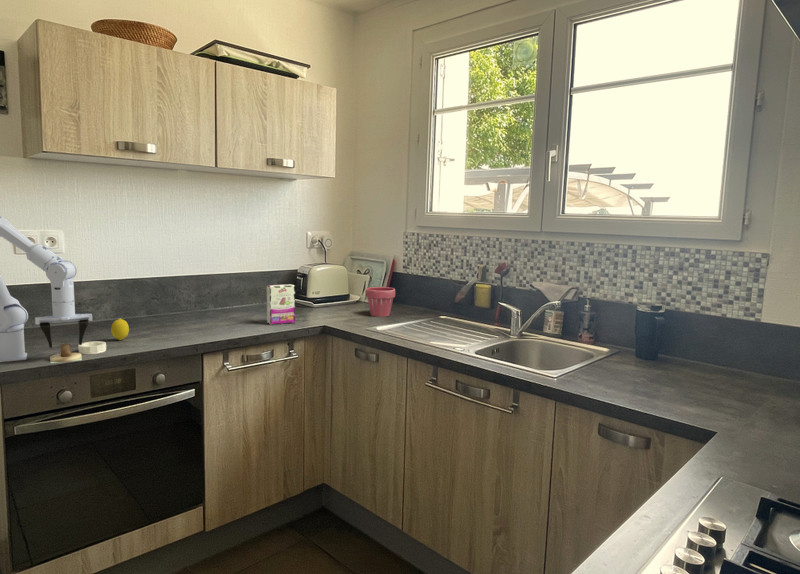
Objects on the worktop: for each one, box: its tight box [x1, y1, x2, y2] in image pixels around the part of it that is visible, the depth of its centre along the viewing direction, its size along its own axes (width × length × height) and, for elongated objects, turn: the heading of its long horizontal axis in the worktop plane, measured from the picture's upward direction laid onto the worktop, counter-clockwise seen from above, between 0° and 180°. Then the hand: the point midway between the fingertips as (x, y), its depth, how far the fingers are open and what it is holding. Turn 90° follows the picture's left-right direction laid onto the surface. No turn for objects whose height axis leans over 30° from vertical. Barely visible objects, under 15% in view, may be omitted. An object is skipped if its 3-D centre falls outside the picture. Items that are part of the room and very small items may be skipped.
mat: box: [50, 358, 83, 364], centre depth 164 cm, size 8×8×1 cm
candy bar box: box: [266, 283, 296, 326], centre depth 228 cm, size 11×5×16 cm, turn 123°
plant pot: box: [365, 286, 396, 318], centre depth 255 cm, size 14×14×13 cm
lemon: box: [110, 318, 130, 341], centre depth 189 cm, size 6×6×8 cm
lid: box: [49, 343, 83, 363], centre depth 163 cm, size 8×8×4 cm
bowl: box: [77, 341, 107, 355], centre depth 173 cm, size 8×8×3 cm
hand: (65, 345), depth 163 cm, fingers open, 7 cm apart
